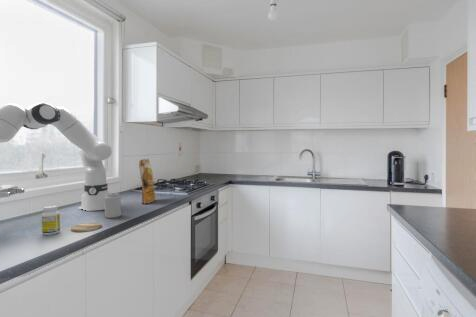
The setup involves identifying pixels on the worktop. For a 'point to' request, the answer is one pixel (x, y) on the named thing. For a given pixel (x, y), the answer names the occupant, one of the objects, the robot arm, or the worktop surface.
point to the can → (112, 205)
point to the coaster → (86, 227)
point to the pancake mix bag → (146, 181)
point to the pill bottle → (50, 220)
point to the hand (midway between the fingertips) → (16, 192)
